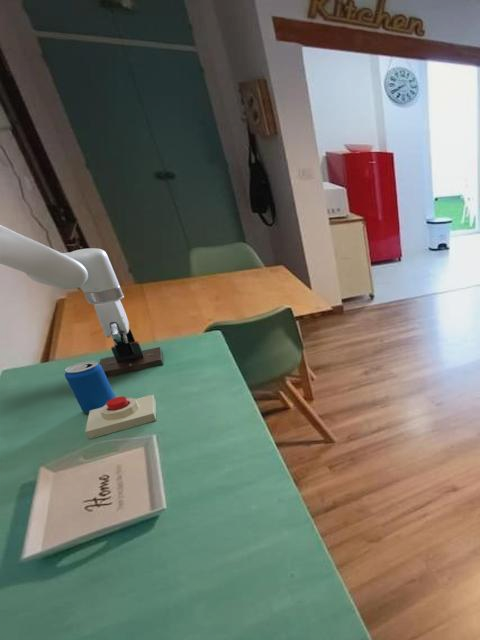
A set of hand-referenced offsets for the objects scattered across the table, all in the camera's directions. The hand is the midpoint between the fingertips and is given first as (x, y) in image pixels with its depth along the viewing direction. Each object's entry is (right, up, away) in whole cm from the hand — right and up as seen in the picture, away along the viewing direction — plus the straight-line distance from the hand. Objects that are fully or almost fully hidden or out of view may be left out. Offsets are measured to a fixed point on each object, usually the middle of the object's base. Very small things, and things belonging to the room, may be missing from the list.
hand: (127, 349), depth 122 cm
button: (+19, -13, -23) cm, 32 cm away
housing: (+19, -16, -21) cm, 33 cm away
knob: (0, -3, +1) cm, 3 cm away
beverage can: (+9, -14, -17) cm, 24 cm away
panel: (0, -5, +2) cm, 5 cm away
